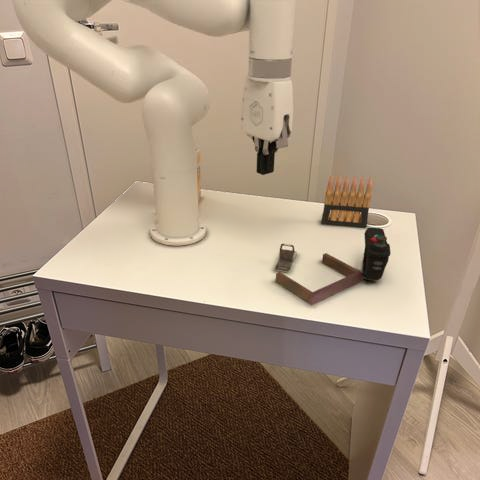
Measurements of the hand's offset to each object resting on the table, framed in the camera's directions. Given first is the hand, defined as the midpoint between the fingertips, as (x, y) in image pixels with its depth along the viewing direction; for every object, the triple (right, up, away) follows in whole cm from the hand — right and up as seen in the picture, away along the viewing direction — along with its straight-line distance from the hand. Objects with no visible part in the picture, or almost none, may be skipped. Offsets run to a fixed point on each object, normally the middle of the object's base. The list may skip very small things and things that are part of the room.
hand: (265, 172), depth 93 cm
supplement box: (-18, +1, +29) cm, 35 cm away
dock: (+10, -22, -1) cm, 24 cm away
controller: (+21, -20, +1) cm, 30 cm away
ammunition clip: (+20, -6, +20) cm, 29 cm away
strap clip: (+5, -18, +5) cm, 19 cm away
